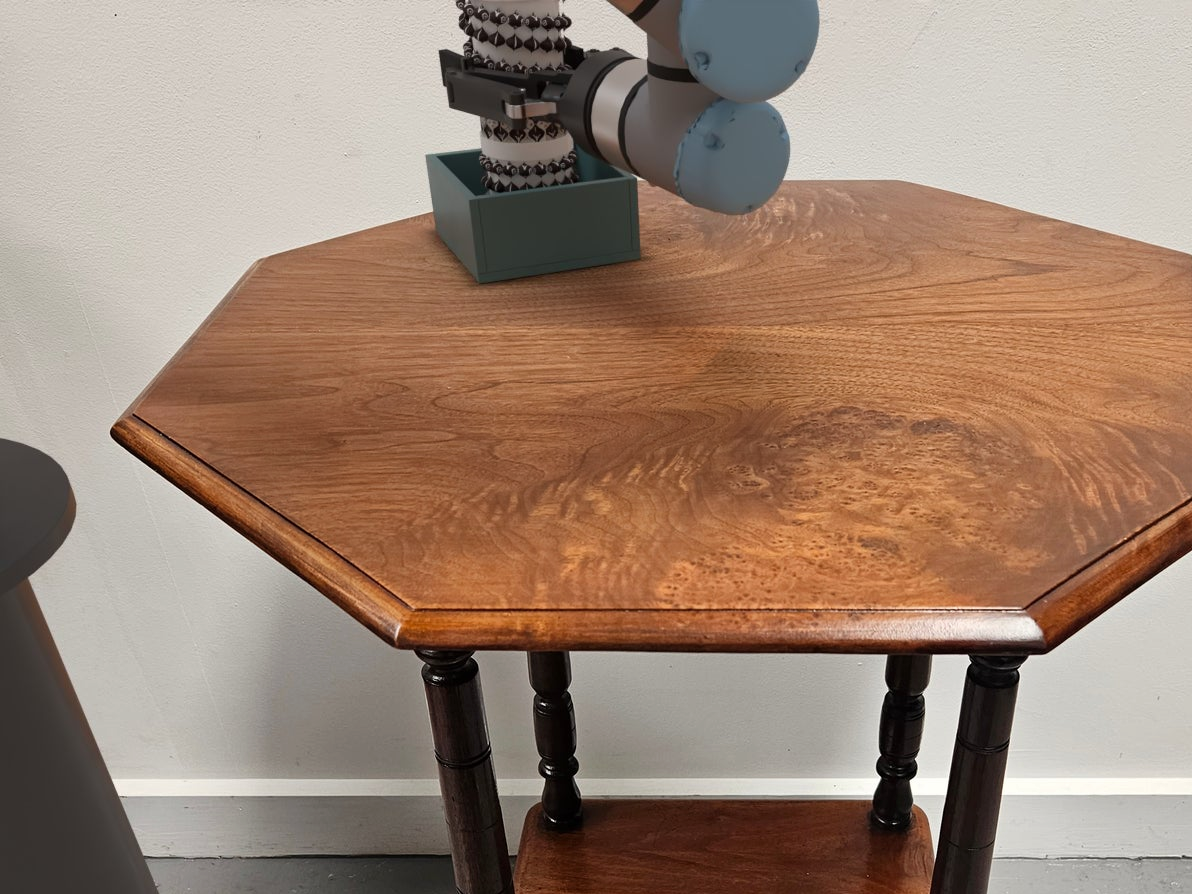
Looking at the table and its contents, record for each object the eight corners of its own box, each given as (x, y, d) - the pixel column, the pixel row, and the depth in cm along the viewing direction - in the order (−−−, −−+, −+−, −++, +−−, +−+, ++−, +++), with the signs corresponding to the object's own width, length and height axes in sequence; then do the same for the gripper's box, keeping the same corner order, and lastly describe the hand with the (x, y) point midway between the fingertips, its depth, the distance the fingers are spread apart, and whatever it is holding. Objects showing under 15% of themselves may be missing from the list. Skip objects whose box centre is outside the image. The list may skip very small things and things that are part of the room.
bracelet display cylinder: (515, 215, 117) (481, -104, 101) (604, 227, 114) (584, -100, 98) (464, 246, 110) (419, -91, 94) (558, 259, 107) (528, -86, 92)
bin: (479, 284, 105) (468, 199, 101) (436, 232, 115) (424, 154, 111) (641, 259, 110) (637, 177, 105) (585, 212, 120) (580, 136, 116)
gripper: (506, 193, 90) (384, 126, 104) (750, 146, 99) (607, 91, 113) (493, 78, 85) (368, 25, 99) (751, 40, 94) (601, -3, 109)
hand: (495, 60), depth 106 cm, fingers closed on bracelet display cylinder, 9 cm apart
